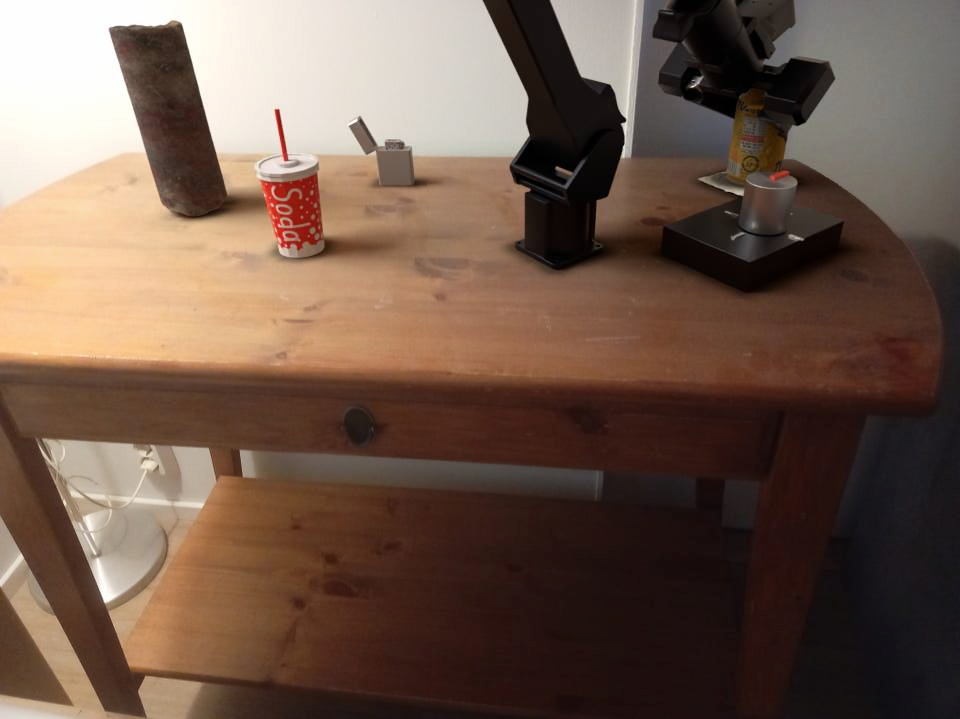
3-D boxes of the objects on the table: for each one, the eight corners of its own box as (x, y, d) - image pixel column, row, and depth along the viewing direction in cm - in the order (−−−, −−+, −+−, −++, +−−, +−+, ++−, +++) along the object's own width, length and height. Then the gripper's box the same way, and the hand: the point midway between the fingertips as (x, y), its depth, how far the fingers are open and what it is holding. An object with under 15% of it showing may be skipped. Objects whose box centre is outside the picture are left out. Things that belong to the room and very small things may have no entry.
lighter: (414, 180, 91) (409, 114, 87) (412, 185, 90) (406, 118, 86) (358, 180, 92) (350, 115, 88) (355, 185, 91) (346, 119, 86)
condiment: (795, 182, 87) (816, 74, 80) (746, 199, 83) (764, 87, 76) (745, 166, 92) (761, 64, 85) (697, 181, 88) (710, 76, 81)
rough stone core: (147, 213, 85) (91, 26, 74) (190, 191, 91) (144, 13, 80) (201, 221, 83) (150, 28, 72) (241, 198, 88) (201, 16, 77)
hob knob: (767, 239, 67) (778, 188, 64) (728, 224, 70) (736, 175, 67) (797, 227, 69) (808, 177, 66) (758, 212, 72) (767, 164, 70)
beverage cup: (259, 257, 75) (229, 116, 67) (292, 232, 79) (267, 99, 72) (312, 264, 73) (287, 121, 65) (342, 239, 77) (322, 102, 70)
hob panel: (747, 293, 65) (753, 261, 63) (659, 254, 72) (663, 224, 70) (840, 250, 72) (848, 219, 70) (751, 217, 79) (757, 189, 77)
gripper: (848, -32, 66) (884, 76, 77) (687, -44, 79) (738, 50, 90) (776, 75, 67) (822, 167, 78) (628, 45, 80) (686, 128, 91)
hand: (764, 123), depth 84 cm, fingers closed on condiment, 6 cm apart
